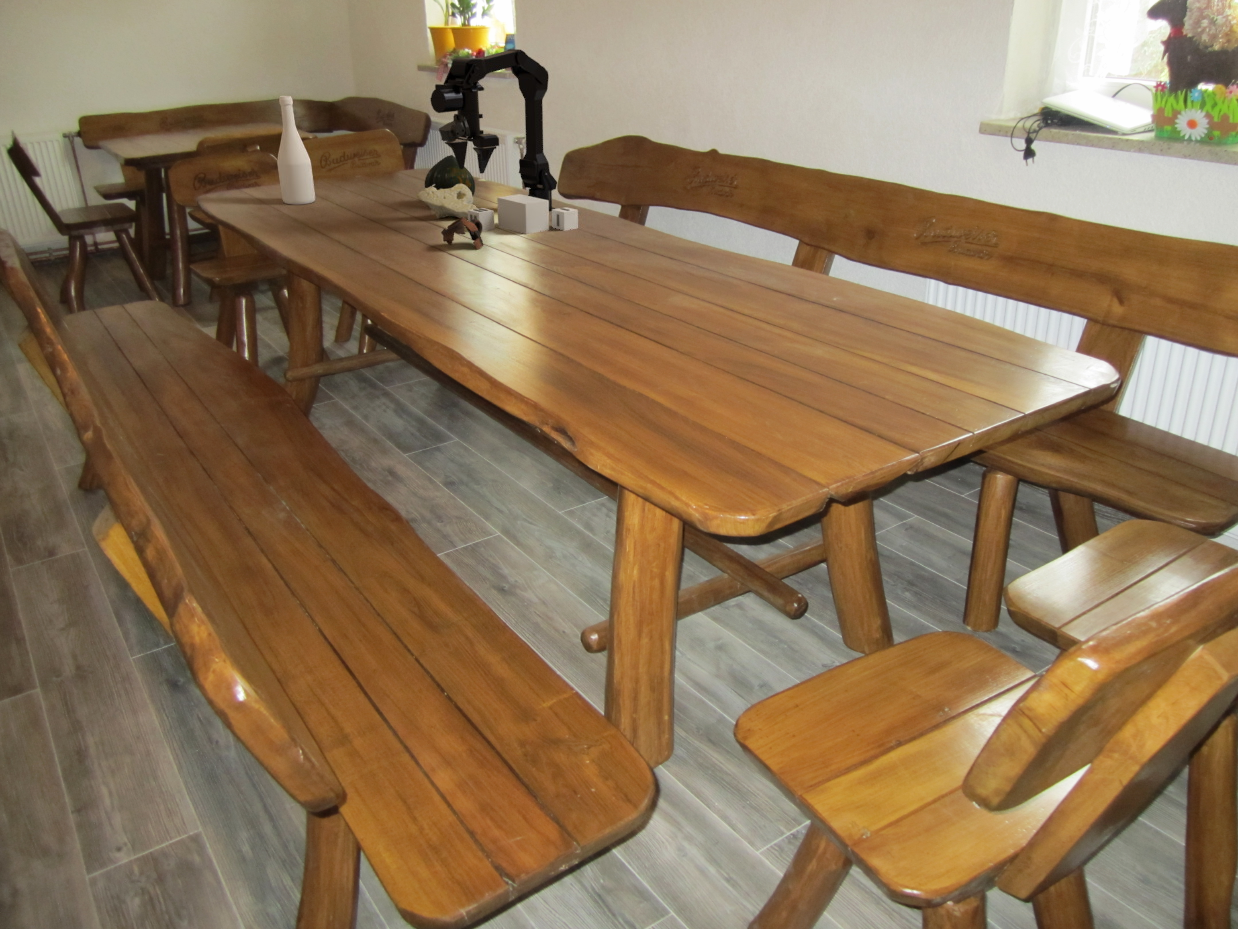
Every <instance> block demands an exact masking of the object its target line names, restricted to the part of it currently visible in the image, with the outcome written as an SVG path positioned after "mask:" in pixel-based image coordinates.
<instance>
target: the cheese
mask: <svg viewBox="0 0 1238 929" xmlns="http://www.w3.org/2000/svg"><path fill="white" fill-rule="evenodd" d="M434 185H435V184H434ZM434 185H432V186H430V187H429V188H425V187H424V188H423V190H421V191H419V192H418V193H416V198H417V199H418V200H420V201H421V202H423V203H425V205H427V206H428V207H429V208H430V209H431V210H432V211H433V213H434V215H435V216H436V218H437V219H440V218H446V217H454V218H455V217H457V218H458V219H460V218H463V217H465V218H466V220H468V210H472V209H478V207H477V206H476V205H475V204H473V203H474V198H473V197H474V196H473V197H472V193H471V191H470V189H469V188H468V187H467V186H466V185H464V184H456V185H455V186H454V187H452V188H449V189H439V190H437V189H436V188H434V187H433V186H434Z"/></svg>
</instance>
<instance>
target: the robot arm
mask: <svg viewBox="0 0 1238 929" xmlns="http://www.w3.org/2000/svg"><path fill="white" fill-rule="evenodd" d="M506 69H510V70H511V73H512V74H513V75H514V76H515V78H516V79H517V82H518V89H519V92H520V93H521V95H522V97H523V99H524V120H525V123H524V124H525V125H524V126H525V154H524V156H523V157H522V158H519V160H518V165H519V166H518V167H519V171H518V174H520V178H521V180H522V183H523V187H524V188H525V189H528V194H527V196H531V197H535V198H540V199H544V200H549V210H550V211H552V209H556V207H553V202H552V201H553V199H552V196H553V194H552V192H553V191H554V190H556V189H557V186H558V181H557V179H555V177H554V176H553V175H552V174H551V170H550V163H549V161H548V159H547V157H546V155H545V153H544V122H543V121H544V119H543V118H544V114H543V112H544V111H543V99H544V97H545V95H546V93H547V92H548V87H549V76H550V75H549V71H548V70H547V69H546V68H545V67H544V66H542V65H541V64H540V62H538V61H536V60H535V59H533V58H532V57H530V56H529V55H528V54H527V53H526V52H525V51H524V50H522V49H517V48H514V49H513V48H509V49H507V50H505V51H501V52H497V53H493V54H489V55H485V56H482V57H456V58H454V59H453V60H452V62H451V66H450V69H449V70H448V72H447V75H446V78H445V80H444V82H443V84H441V83H438V84H437V83H435V85H434V90H433V91H432V93H431V96H430V105H431V107H432V109H433V110H434V111H435V112H436V113H438V114H444V113H452V112H457V113H454V114H453V115H452V116H453V120H452V121H450V122H448V123H446V124H444V125H442V126H440V127H439V128H438V131H439V134H440V138H441V141H442V142H444V144H445V145H447V146H448V147H449V148H450V149H451V150H452V152H453V156H454V157H455V158H456V160H457V163H458V166H459V168H460V169H464V167H465V164H466V158H467V151H468V150H467V149H468V143H469V142H472V144H473V146H474V147H472V149H473V151H474V152H475V153H476V156H477V164H478V170H479V173H480V174H485V171H486V169H487V167H488V164H489V161H490V159H491V157H492V154H493V153H494V152H495V151H494V150H497V147H500V137H499V136H498V135H497V134H493V133H484V130H482V129H481V125H480V124H481V121H480V119H483V118H484V115H483V113H480V102H479V92H483V91H485V87H483V85H481V84H480V81H482V80H483V79H484V78H485V77H486V76H487V75H488V74H491V73H494V72H498V71H502V70H506Z"/></svg>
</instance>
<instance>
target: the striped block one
mask: <svg viewBox="0 0 1238 929" xmlns="http://www.w3.org/2000/svg"><path fill="white" fill-rule="evenodd" d="M552 227H553V228H552ZM551 228H552V229H555V228H556V230H559V229H560V231H564V232H565V231H570V229H571V230H575V229H578V228H579V210H578V209H576V208H575V209H574V208H572V207H567V206H566V207H559V208H555V209H552V210H551Z"/></svg>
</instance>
